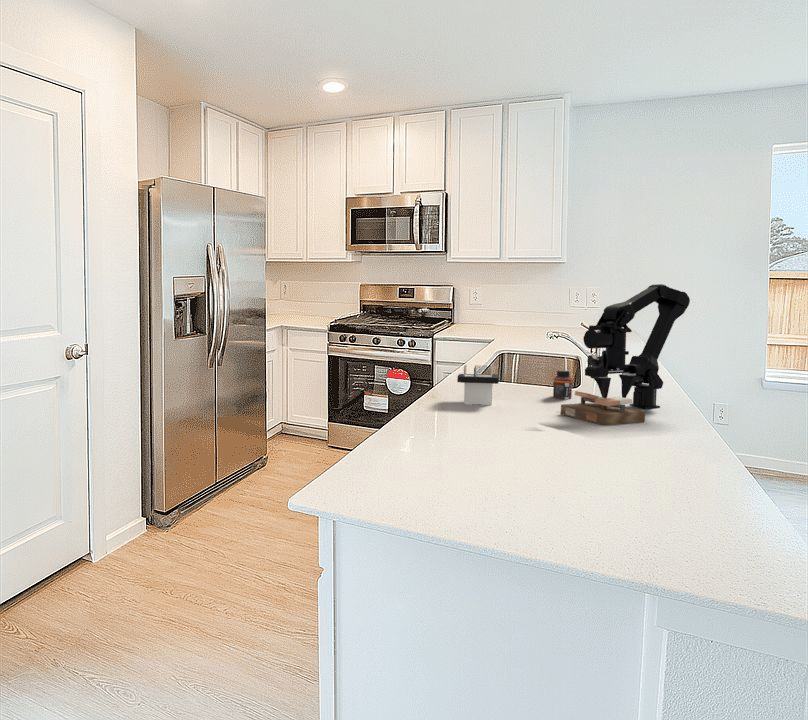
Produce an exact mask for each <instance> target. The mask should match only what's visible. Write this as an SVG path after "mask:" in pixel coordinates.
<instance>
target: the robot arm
mask: <svg viewBox="0 0 808 720" xmlns="http://www.w3.org/2000/svg"><path fill="white" fill-rule="evenodd" d="M690 301H691V300H690V296H689V295H688V293H687V292H685V291H681V290H679V289H676V288H675V289H674V288H672V287H669V286H667V285H665V284H662V283H660V284H659V283H658V284H651V285H649V286H648V287H647V288H646V289H644V290H642V291H640V292H638V293H637V294H635V295H633V296H632V297H630V298H628V299H627V300H625V301H622V302H619V303H614V304H611V305H607V306H605V308H604V309H603V313H602V315H601V316H600V317H599V320H598V321H597V323H596V325H589V326H588V330H586V331H585V332H584V336H583V339H582V340H583V343H584V345H585V347H586V348H588V349H589V350H590V349H604V350H602V351H601V355H600V356H597V355H596V354H590V355H588V356H587V365H588V366H586V368H585V369H584V376H586V377H590V379H593V380H594V381H595V383H596V385H597V386H598V389H599V391H600V395H601V397H603V398H608V395H609V391H610V385H611V380H612V378H611V377H608V376H609V375H611V374H613V375H615V374H618V376H619V378H620V379H621V380H620V381H621V397H623V398H627V396H628V395H629V392H630V391H631V389H632V387H633V389H634V390H633V396H632V403H631V404H629V405H630V406H632V407H637V408H641V409H655V408H657V407H658V408H660V407H661V406H660V405H657V391H658V390H659V389H662V388H663V385H664V381H663V380H662V378H661V377H660V375H659V374H658V373H659V369H660V367H659V362H658V359H659V357H660V354H661V353H662V350H663V348H664V346H665V343H666V341H667V339H668V337H669V335H670V333H671V330H672V328H673V325H674V323H675V322H676V320H677V319H679V318H680V317H682V315H683V314H685V312H686V311H687V309H688V307H689V306H690ZM653 303H656V304H657V309H658V317H657V319H656V321H655V323H654V326H653V327H652V329H651V332H650V334H649V336H648V338H647V340H646V343H645V345H644V347H643V350H642V352H641V353H640V354H639V355H633V356H631V358H630V361H629V363H627V364H626V355H629V350H627V333H632V331H633V330H632V329H631V328H630V327H629V326H628V324H629V323H630V322H631V321H632V320H633V319H634V318H635V315H636V314H637V313H638V312H639V311H642V310H643V309H645V308H646V307H648V306H649V305H651V304H653Z"/></svg>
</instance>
